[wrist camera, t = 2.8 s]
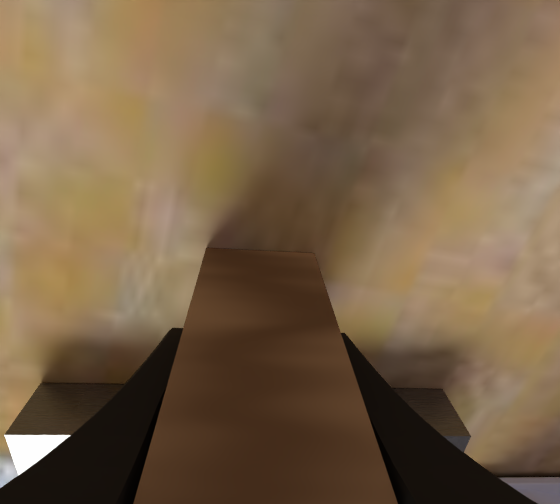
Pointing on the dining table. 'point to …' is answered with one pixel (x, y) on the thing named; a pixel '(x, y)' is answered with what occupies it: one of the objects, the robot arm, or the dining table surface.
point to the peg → (262, 395)
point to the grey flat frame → (91, 397)
